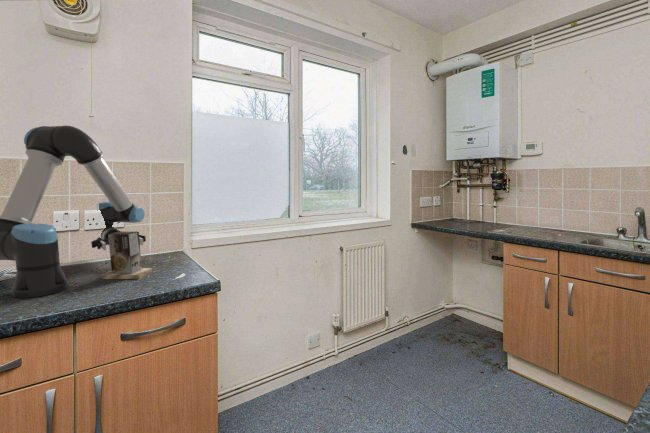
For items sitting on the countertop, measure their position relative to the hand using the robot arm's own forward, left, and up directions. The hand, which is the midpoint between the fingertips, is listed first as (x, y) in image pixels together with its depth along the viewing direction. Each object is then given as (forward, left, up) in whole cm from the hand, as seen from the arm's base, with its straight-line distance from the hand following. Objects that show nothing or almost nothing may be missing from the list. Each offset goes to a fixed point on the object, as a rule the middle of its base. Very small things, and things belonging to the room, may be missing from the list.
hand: (124, 244), depth 139 cm
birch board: (-1, -4, -12) cm, 13 cm away
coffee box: (-1, -4, -11) cm, 12 cm away
